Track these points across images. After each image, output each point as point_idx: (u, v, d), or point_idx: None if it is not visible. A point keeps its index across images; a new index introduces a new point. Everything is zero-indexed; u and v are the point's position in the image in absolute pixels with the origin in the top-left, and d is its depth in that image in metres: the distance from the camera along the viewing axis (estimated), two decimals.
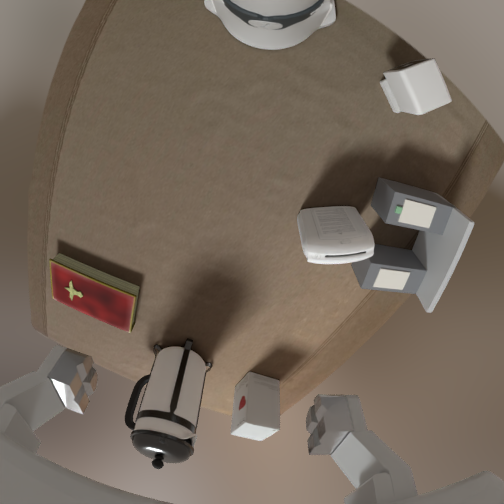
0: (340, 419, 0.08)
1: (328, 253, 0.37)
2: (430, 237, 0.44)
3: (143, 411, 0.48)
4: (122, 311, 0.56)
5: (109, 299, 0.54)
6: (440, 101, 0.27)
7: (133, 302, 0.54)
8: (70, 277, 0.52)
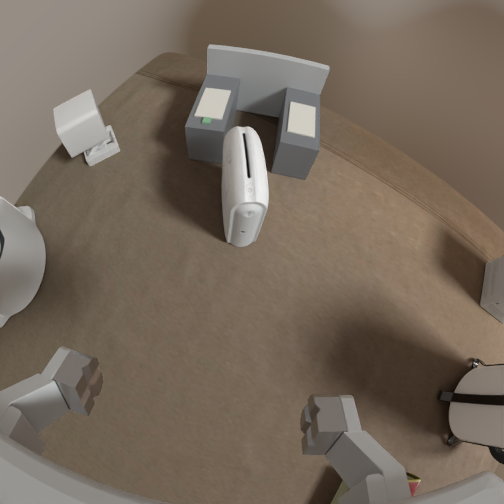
0: (333, 419, 0.08)
1: (243, 173, 0.26)
2: (252, 95, 0.41)
3: None
4: None
5: None
6: (88, 97, 0.31)
7: None
8: None
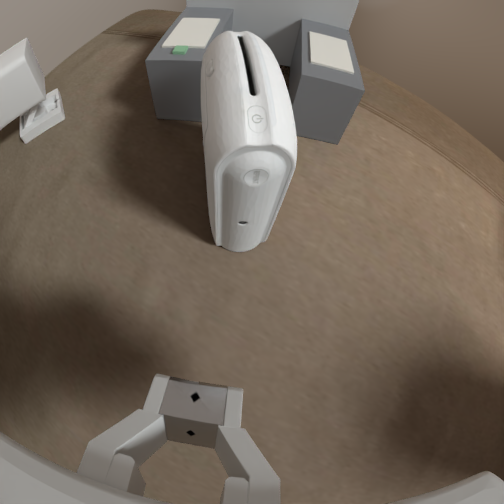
0: (211, 410, 0.08)
1: (239, 85, 0.10)
2: None
3: None
4: None
5: None
6: (20, 45, 0.15)
7: None
8: None
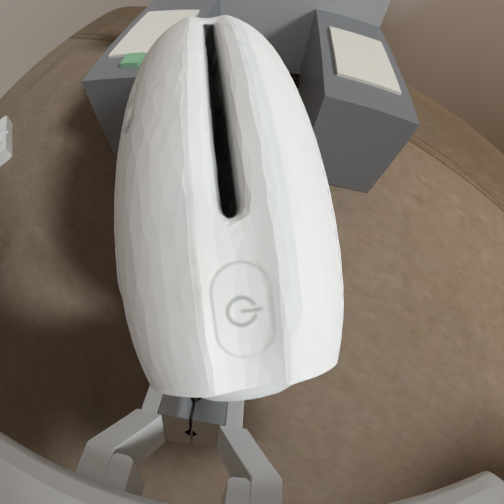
0: (213, 410, 0.08)
1: (184, 184, 0.04)
2: None
3: None
4: None
5: None
6: None
7: None
8: None
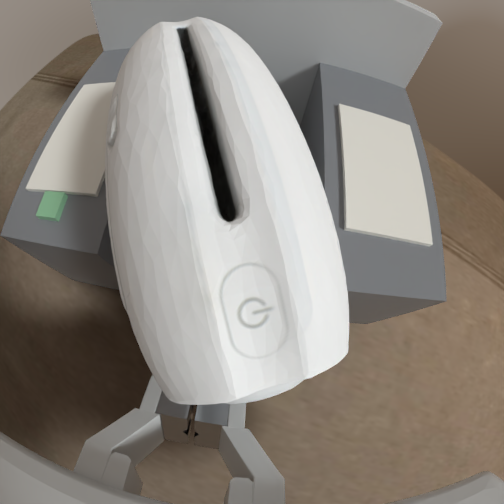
0: (215, 411, 0.08)
1: (182, 193, 0.03)
2: None
3: None
4: None
5: None
6: None
7: None
8: None
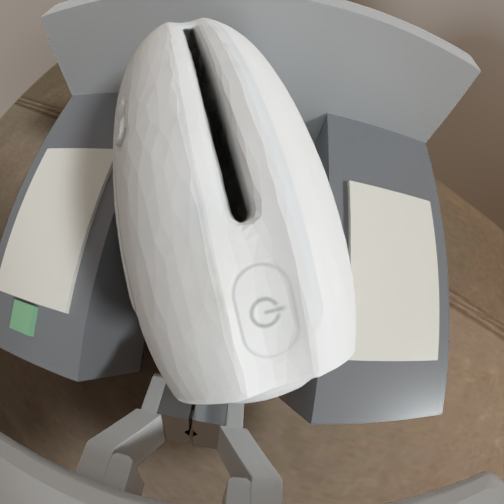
0: (213, 410, 0.08)
1: (194, 193, 0.04)
2: None
3: None
4: None
5: None
6: None
7: None
8: None
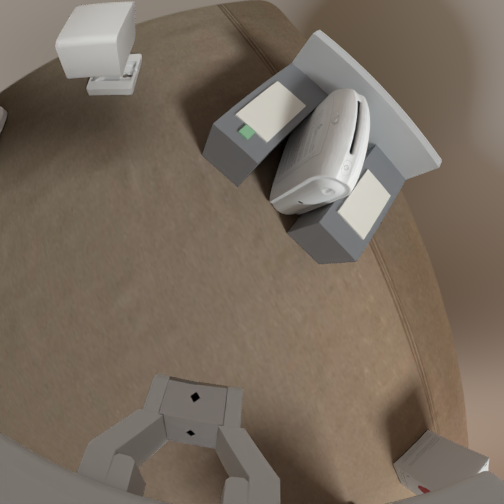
0: (211, 410, 0.08)
1: (347, 145, 0.20)
2: None
3: None
4: None
5: None
6: (121, 11, 0.17)
7: None
8: None
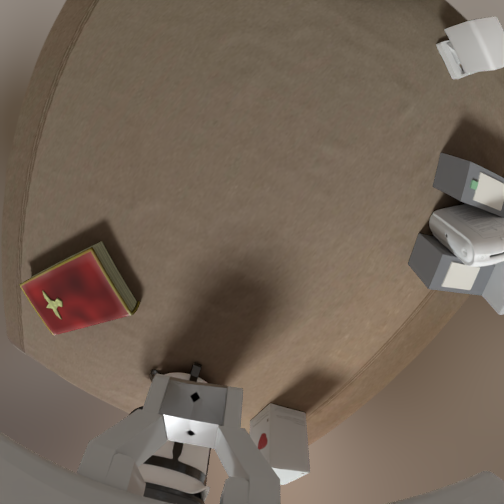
0: (211, 410, 0.08)
1: (493, 252, 0.25)
2: None
3: None
4: (99, 287, 0.39)
5: (78, 280, 0.38)
6: None
7: (95, 259, 0.37)
8: (40, 287, 0.39)
